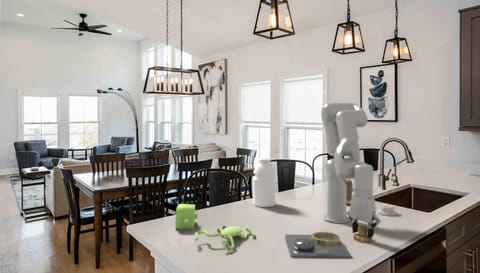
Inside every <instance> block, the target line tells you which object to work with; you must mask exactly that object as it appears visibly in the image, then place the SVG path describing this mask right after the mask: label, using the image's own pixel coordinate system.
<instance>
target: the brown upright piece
mask: <svg viewBox="0 0 480 273" xmlns="http://www.w3.org/2000/svg"><path fill="white" fill-rule="evenodd" d="M342 180H343V181H344V182H345V184H346V187H347V195H346V205H350V204H351V199H352V195H353V192H352V189H354V183H353V181H352V179H342Z"/></svg>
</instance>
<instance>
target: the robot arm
mask: <svg viewBox="0 0 480 273" xmlns="http://www.w3.org/2000/svg"><path fill="white" fill-rule="evenodd" d="M320 112H321V113H320V116H321V121H322V124H323V126H324V129H325V141H326V151H327V153H328V155H330V156H333V158H330V159H329V160H326V163H325V174H326V180H327V181H326V189H327V190H326V193H327V194H326V196H327V197H326V214H325V215H324V216H323V220H325V221H326V222H328V223H334V224H346V223H348V222H351V226H352V227H351V228H352V229H351V230H352V233H353V234H357V233H358V226H359V222H358V221H360V222H364V223H366V224H367V234H368V238H371V237H372V238H373V237H374V235H375V228H376V227H377V226H379V225H380V223H381V222H382V220H381V219H380V218H379V216H378V215H377V209H376V200H375V197H374V167H373V166H372V165H371V164H367V163H366V162H363V161H361V154H360V146H359V141H360V138H359V134H358V128H364V127H366V126H367V125H368V115H367V113H366V111H365V110H364V109H363V108H361V107H360V106H359V105H357V104H356V103H353V102H329V103H326V104H324V105H323V106H322V108H321V111H320ZM345 156H346V157H347V158H345ZM343 157H344V158H343ZM342 179H350V180H352V179H353V180H354V181H353V189H352V193H353V194H352V199H351V204H349V205H350V206H349V210H348V211H347V204H346V195H347V187H346V184H345V182H344V181H343V180H342ZM374 221H375V222H374Z"/></svg>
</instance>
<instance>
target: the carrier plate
mask: <svg viewBox="0 0 480 273" xmlns="http://www.w3.org/2000/svg"><path fill="white" fill-rule="evenodd" d="M284 239H285V242H286V246H287V248H288V249H287V250H288V253H289V256H290V258H291V257H293V258H351V253H350V252H349V249H347V248H346V246H345V244H344V243H343V242H342V241H341V238H340V236H339V234H336V233H334V232H330V231H317V232H313V233H311V234H286V233H285V235H284Z"/></svg>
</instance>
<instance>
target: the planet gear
mask: <svg viewBox="0 0 480 273" xmlns="http://www.w3.org/2000/svg"><path fill="white" fill-rule="evenodd" d="M352 239H353V240H354V241H356V242H357V243H360V242H361V243H363V244H367V243H372V242H373V237H371V238H368V225H367V226H366V225H358V232H357V233H353V238H352Z"/></svg>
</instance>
